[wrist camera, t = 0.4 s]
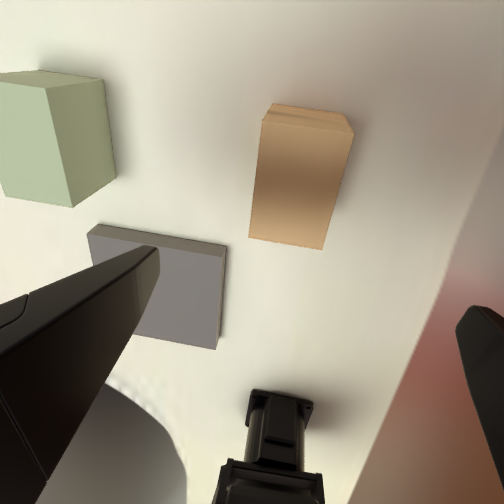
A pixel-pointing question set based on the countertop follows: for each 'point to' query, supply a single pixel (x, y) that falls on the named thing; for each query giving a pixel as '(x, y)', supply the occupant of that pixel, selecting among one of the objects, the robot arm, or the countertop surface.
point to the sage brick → (54, 137)
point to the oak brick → (298, 174)
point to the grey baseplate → (173, 284)
